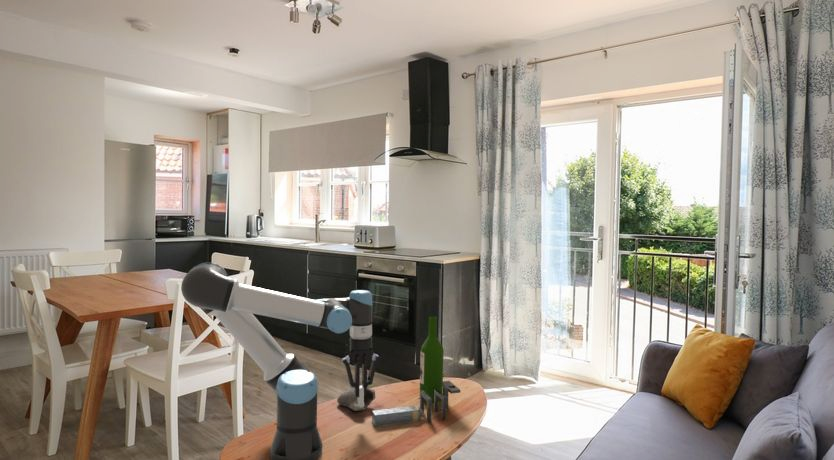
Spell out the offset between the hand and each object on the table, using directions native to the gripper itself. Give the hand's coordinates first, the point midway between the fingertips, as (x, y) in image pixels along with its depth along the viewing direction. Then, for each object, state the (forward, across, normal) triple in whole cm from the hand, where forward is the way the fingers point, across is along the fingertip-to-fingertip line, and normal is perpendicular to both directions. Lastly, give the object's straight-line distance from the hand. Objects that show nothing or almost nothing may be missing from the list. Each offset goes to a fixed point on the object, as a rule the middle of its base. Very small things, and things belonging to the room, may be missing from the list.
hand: (360, 405), depth 164 cm
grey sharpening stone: (+7, +12, 0) cm, 14 cm away
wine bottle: (+8, +31, +15) cm, 36 cm away
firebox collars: (+7, +29, +1) cm, 30 cm away
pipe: (+7, +2, +16) cm, 18 cm away
